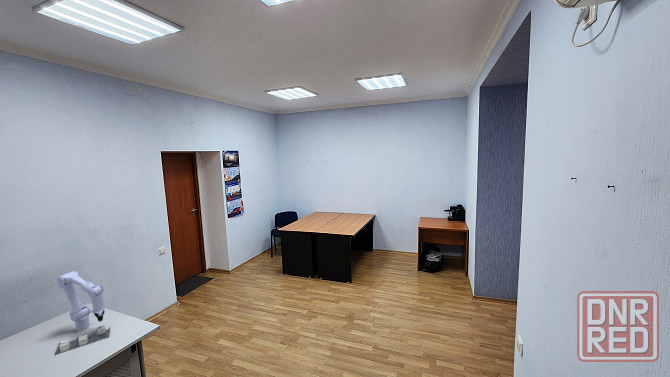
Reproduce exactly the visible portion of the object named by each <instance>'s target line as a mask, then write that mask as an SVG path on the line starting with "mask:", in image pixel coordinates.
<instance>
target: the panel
mask: <svg viewBox="0 0 670 377" xmlns="http://www.w3.org/2000/svg"><path fill="white" fill-rule="evenodd" d="M86 335H87V336H88V343H87V344H84V345H81V346H79V341H78V340H79V337H78V336H76V337H75V339H71V340H68V341H69V342H70V348H69V349H68V350H65V351H62V352H60V347H59V346H60V344H61V343H62V342H58V344H57V347H56V349H55V351H54V356H56V355H60V354H62V353H66V352H69V351H72V350H74V349H77V348H81V347H84V346H87V345H90V344H93V343H96V342H99V341H103V340H106V339H109V338H110V336H111V326H109V327H108V329H107V328H106V333H103V334H100V335H98V331H97V332H92V333H91V334H86Z"/></svg>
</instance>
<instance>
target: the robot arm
mask: <svg viewBox="0 0 670 377" xmlns="http://www.w3.org/2000/svg"><path fill="white" fill-rule="evenodd" d="M56 282H57V284H58V287H59V288H61V289H63V291H64V294H65V296H66V298H67V300H68V302H69V304H70V305H71V310H70V312H69V313H68V314H69V316H70V318H69V319H70V320H71V321H72V322H74V324H75V329H76V332H82V331H85V330H87V329H89V328H90V326H92V322H90V314H94V316H95V317H96V319H97V321H98V322H99V323H101V322H102V321H103V320H104V315H105V305H104V299H103V293H104V287H103V286H102V285H95V283H92V282H90V281H86V280H85V279H83V278H82V277H80V274H79V272H78V271H76V270H72V271H70V272H68V273H65V274H62V275H59V276H58V277H57V279H56ZM75 284H76V285H77V286H80V288H81V290H83V291H84V292H87V294H88V297H89V298H90V300H91V304H92V310H91V308H90V307H89V306H88V304H86V303H85V304H84V303H82V302H81V299H80V297H79V295H78V293H77V292H76V289H75V288H74V285H75Z"/></svg>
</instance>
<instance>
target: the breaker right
mask: <svg viewBox="0 0 670 377" xmlns="http://www.w3.org/2000/svg"><path fill="white" fill-rule="evenodd" d="M69 341H70V340H66V341H63V342H60V343H61V344H60V346H59V347H60V352H62V351H65V350H68V349H69V348H70V342H69Z"/></svg>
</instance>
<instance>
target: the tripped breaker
mask: <svg viewBox="0 0 670 377" xmlns="http://www.w3.org/2000/svg"><path fill="white" fill-rule="evenodd" d="M106 326H107V325H106V324H103V325H99V326H97V329H96V330H97V332H98V335H100V334H103V333H106V330H107V327H106Z"/></svg>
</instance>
